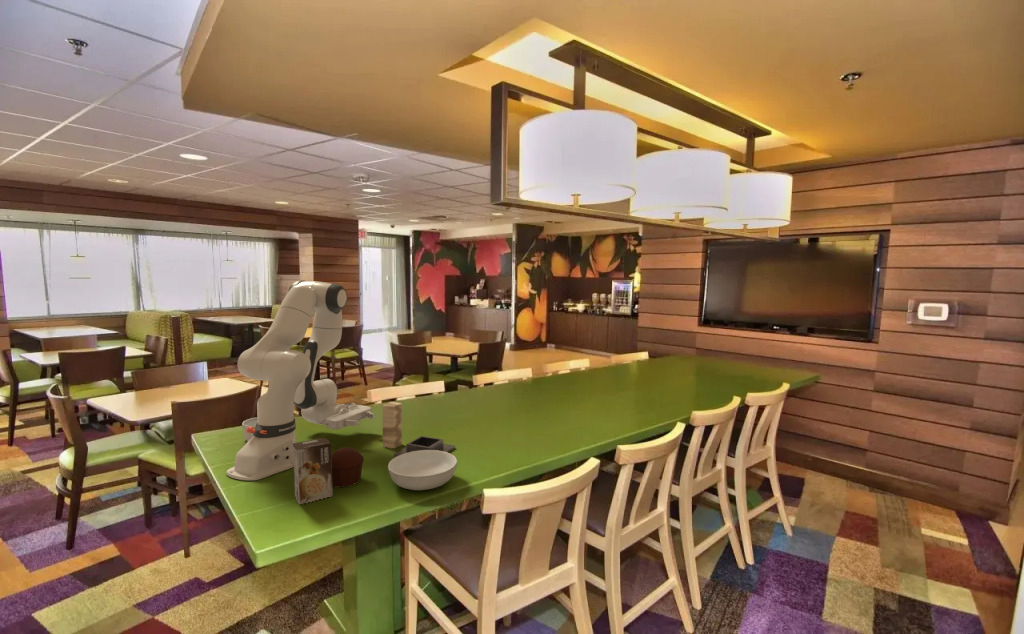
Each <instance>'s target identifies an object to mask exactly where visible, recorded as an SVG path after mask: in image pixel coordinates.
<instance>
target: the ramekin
mask: <svg viewBox="0 0 1024 634" xmlns="http://www.w3.org/2000/svg"><path fill="white" fill-rule="evenodd" d="M257 422H258V418H257V417H251V418H249V419H248V418H247V419H246V420H243V422H242V424H241V426H242V430H243V431H242V432H243V436H244V439H245V441H247V442H248V441H249V440H250V439H251V438H252V437H253V433H247V432H246V429H248V428H247V427H254V428H255V426H256V424H257Z"/></svg>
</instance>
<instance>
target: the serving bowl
mask: <svg viewBox="0 0 1024 634" xmlns="http://www.w3.org/2000/svg"><path fill="white" fill-rule="evenodd" d="M457 464H458V460H457V458H456V456H455V455H453V453H451V452H449V453H447V452H444V451H438V450H420V451H413V452H408V453H405V454H402V455H399V456H397V457H393V458H392V459H391V460H390V461H389V462H388V464H387V470H388V475H389V476H390V478H391V480H392V481H393V482H394V483H395V484H396V485H397V486H399V487H401V488H403V489H406V490H411V491H426V490H432V489H436V488H438V487H441V486H443V485H444V484H447V482H448V481H450V480H451V478H452V477H453V476H454V474H455V472H456V469H457Z"/></svg>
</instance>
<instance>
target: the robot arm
mask: <svg viewBox="0 0 1024 634" xmlns="http://www.w3.org/2000/svg"><path fill="white" fill-rule="evenodd" d="M347 301H348V292H347V290H346V289H345V287H344V286H343V285H341V284H338V283H330V282H326V281H325V282H324V281H320V280H319V281H318V280H317V281H316V280H297V281H294V282H292V284H291V285H290V286H289V288H288V290H287V293H286V295H285V296H284V297H283V300H282V302H281V303H280V305H279V308H278V309H277V312H276V314H275V317H274V318H273V320H272V323H271V325H270V327H269V329H268V330H267V331H266V333H265V334H264V335H263V336H262V337H261V338H260V340H258V341H257V342H256V343H255V344H254V345H253V346H252V347H250V348H248V349H246V350H244V351H243V352H242V353H240V355H239V356H238V360H237V364H236V365H237V370H238V372H239V373H240V375H242V376H243V377H245V378H249V379H251V380H254V381H265V382H268V388H267V391H266V392H265V393H264V394H262V395H260V397H259V398H258V399H257V402H256V412H257V413H256V414H257V418H258V422H257V424H256V426H255V428H254V427H247V428H248V429H246V432H247V433H253V437H252V438H251V439H250V440H249V441H247V442H246V443H245V444H244V446H242V447H241V449H239V450H238V451H237V453H236V455H235V458H234V466H232V467H230V468H229V469H227V470H226V475H227V476H228V477H229V478H232V479H236V480H240V481H259V480H261V479H264V478H267V477H270V476H273V475H274V474H278V473H281V472H284V471H287V470H289V469H292V468H294V457H293V443H297V439H296V432H295V431H296V425H297V423H296V418H295V406H296V407H297V408H299V409H301V411H300V412H301V413H300V414H301V416H302V418H303V419H304V420H305V421H306V422H309V423H312V424H315V425H316V424H317V425H321V426H323V425H324V426H325V428H328V429H331V430H337V431H338V430H341V429H344V428H346V427H352V426H354V427H356V426H359V425H360V421H363V420H365V419H369V420H370V419H371V420H373V419H375V418H376V414H375V413H373V409H372V407H371V406H367V405H363V404H356V403H355V402H346V403H337V400H338V393H339V391H338V390H339V388H338V385H337V384H336V382H335V381H334V380H333V379H331V378H324V379H319V380H314V379H315V374H316V369H317V365H318V362H319V360H320V359H321V358H322V357H323V355H325V354H326V353H328V352H329V351H332V350H334V349H335V348H336V347H337V346H338V345H339V344H340V342H341V339H342V335H343V334H342V333H343V312H342V310H343V309H344V308H345V306H346V305H347ZM312 317H313V320H312ZM311 320H312V330H311V333H310V336H309V339H308V341H307V342H306V344H305V345H304V346H303V350H302V352H301V351H299V350H294V349H291V348H292V347H293V346H295V345H296V344H298V343H300V342H301V341H302V340H303V339H304V338H305V336H306V334H307V330H308V328H309V325H310V324H311Z"/></svg>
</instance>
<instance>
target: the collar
mask: <svg viewBox="0 0 1024 634" xmlns="http://www.w3.org/2000/svg"><path fill="white" fill-rule="evenodd" d="M454 448H455V449H456V445H454V444H447V443H444V439H443V438H437V437H431V436H424V435H420V436H418V437H417V438H415V439H413V440H412V441H410V442H408V443H406V446H405V447H403V448H402V449H400V450H397V451H396V452H394V453H393V458H395V457H397V456H399V455H402V454H405V453H408V452H413V451H420V450H438V451H444V452H447V453H448V452H449V453H451V452H452V451H453V450H455V449H454ZM451 450H452V451H451Z"/></svg>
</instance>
